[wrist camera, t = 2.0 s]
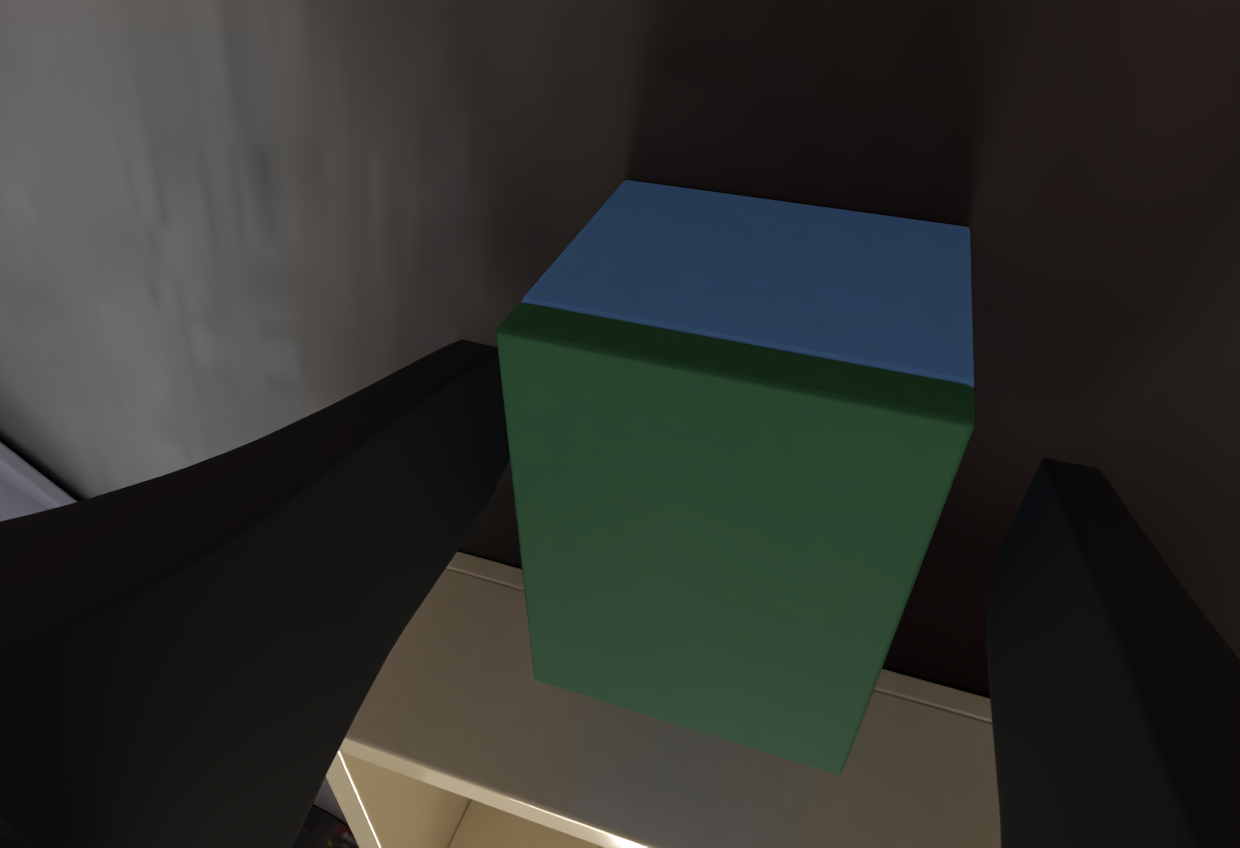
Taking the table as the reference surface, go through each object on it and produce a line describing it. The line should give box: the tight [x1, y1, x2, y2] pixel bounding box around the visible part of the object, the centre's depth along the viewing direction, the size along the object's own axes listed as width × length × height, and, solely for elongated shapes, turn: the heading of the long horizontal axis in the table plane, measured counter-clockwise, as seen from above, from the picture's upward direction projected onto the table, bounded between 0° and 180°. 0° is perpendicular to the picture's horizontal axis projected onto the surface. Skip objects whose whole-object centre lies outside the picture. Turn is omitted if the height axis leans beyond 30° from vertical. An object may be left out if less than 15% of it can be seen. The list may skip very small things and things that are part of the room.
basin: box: [325, 551, 1001, 848], centre depth 17 cm, size 13×9×4 cm
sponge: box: [496, 180, 975, 775], centre depth 10 cm, size 6×4×4 cm
